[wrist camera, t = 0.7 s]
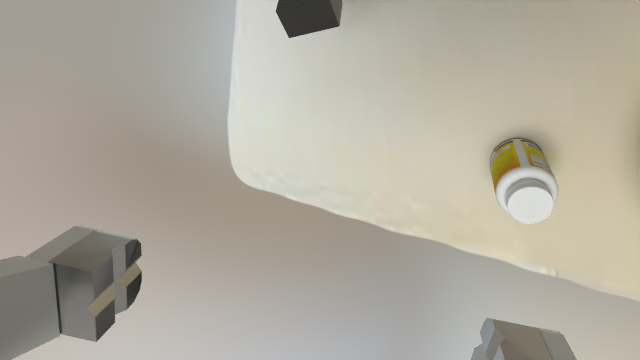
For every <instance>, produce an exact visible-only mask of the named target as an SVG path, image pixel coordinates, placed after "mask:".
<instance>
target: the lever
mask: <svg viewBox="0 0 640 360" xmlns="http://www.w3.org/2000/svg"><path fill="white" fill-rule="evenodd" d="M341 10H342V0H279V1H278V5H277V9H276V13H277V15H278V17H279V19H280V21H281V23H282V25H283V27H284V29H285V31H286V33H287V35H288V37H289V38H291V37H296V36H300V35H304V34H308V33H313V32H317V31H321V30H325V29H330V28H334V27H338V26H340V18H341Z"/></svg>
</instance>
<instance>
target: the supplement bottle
mask: <svg viewBox="0 0 640 360" xmlns="http://www.w3.org/2000/svg"><path fill="white" fill-rule="evenodd" d="M490 168H491V173H492V179H493V184H494V189H495V194H496V199H497V202H498V204H499V205H500V207H501V208H502V209H503V210H504V211H505V212H507V213H509V214H510V215H511V216H512V217H513V218H514V219H515V220H517V221H519V222H522V223H529V224H531V223H537V222H540V221H542V220H544V219H546V218H547V217H548V216H549V215H550V214H551V212H552V211H553V208H554V203H555V202H556V200H557V197H558V185H557V182H556V180H555V178H554V175H553V173H552V171H551V169H550V167H549V165H548V163H547V160H546V158H545V156H544V154H543V152H542V150H541V149H540V148H539V147H538V146H537V145H536V144H535V143H533V142H531V141H529V140H525V139H513V140H509V141H506V142H504V143H502V144H501V145H499V146H498V147H497V148H496V149H495V151H494V152H493V154H492V156H491V160H490Z"/></svg>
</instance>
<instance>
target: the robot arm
mask: <svg viewBox="0 0 640 360" xmlns="http://www.w3.org/2000/svg"><path fill="white" fill-rule="evenodd" d="M140 257H141V243H140V242H139V241H138V240H137V239H134V238H130V237H126V236H122V235H118V234H114V233H110V232H106V231H102V230H97V229H94V228H89V227H84V226H74V227H72V228H71V229H69V230H68V231H66V232H64V233H63V234H61V235H60V236H58V237H56V238H55V239H53V240H52V241H50V242H49V243H47V244H45V245H44V246H42V247H40V248H39V249H37V250H36V251H34V252H33V253H31V254H29V255H28V256H26V257H22V256H16V257H12V258H7V259H2V260H0V360H11V359H13V358H16V357H18V356H20V355H22V354H24V353H26V352H28V351H30V350H32V349H33V348H36V347H38V346H40V345H42V344H44V343H46V342H48V341H51V340H53V339H55V338H56V337H59V336H60V334H63V335H67V336H72V337H77V338H81V339H85V340H90V341H95V342H97V341H98V339H100V338H101V337H102V335H103V334H104V333H105V332H106V331H107V330H108V329H109V328H110V327H111V326H112V325H113V324H114V323H115V314H117V313H120V312H122V311H125V310H127V309H128V308H129V307H130V305H131V304H132V303H133V302H134V301H135V299H136V297H137V294H138V293H139V290H140V286H141V281H142V271H141V270H140V268H139V267H138V265H137V264H136V261H137V260H138V259H139V258H140ZM480 334H481V338H482V342H483V343H482V344H481V345H479V346H478V347H476V348H474V352H473V355H472V358H471V360H576V358H575V356H574V354H573V352H572V350H571V348H570V346H569V344H568V343H567V341H566V339H565V337H564V335H562V334H561V333H560V332H558V331H553V330H548V329H542V328H536V327H530V326H525V325H520V324H515V323H510V322H505V321H500V320H496V319H490V318H487V319H486V320H485V322H484V323H483V326H482V329H481V332H480Z"/></svg>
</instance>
